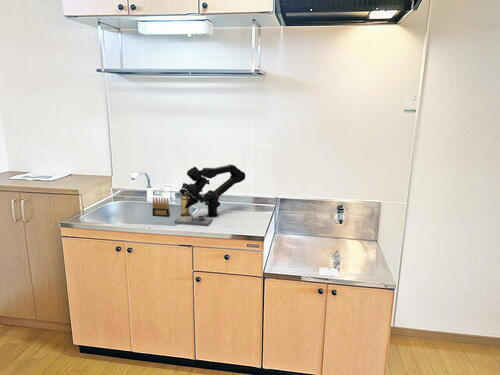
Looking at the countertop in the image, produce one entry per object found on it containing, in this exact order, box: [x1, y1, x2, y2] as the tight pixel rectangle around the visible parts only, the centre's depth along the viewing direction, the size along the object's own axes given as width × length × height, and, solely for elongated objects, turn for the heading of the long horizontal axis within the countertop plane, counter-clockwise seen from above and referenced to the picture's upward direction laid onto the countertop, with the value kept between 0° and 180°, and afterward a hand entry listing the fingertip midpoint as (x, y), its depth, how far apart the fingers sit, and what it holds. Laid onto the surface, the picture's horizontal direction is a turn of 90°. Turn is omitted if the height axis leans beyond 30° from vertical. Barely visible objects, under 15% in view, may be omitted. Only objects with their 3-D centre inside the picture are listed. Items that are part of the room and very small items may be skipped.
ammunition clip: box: [152, 196, 171, 218], centre depth 225 cm, size 11×2×12 cm, turn 80°
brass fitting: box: [180, 195, 190, 217], centre depth 214 cm, size 4×4×13 cm
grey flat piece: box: [173, 212, 213, 227], centre depth 215 cm, size 9×20×4 cm, turn 80°
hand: (183, 207), depth 213 cm, fingers closed on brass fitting, 4 cm apart
